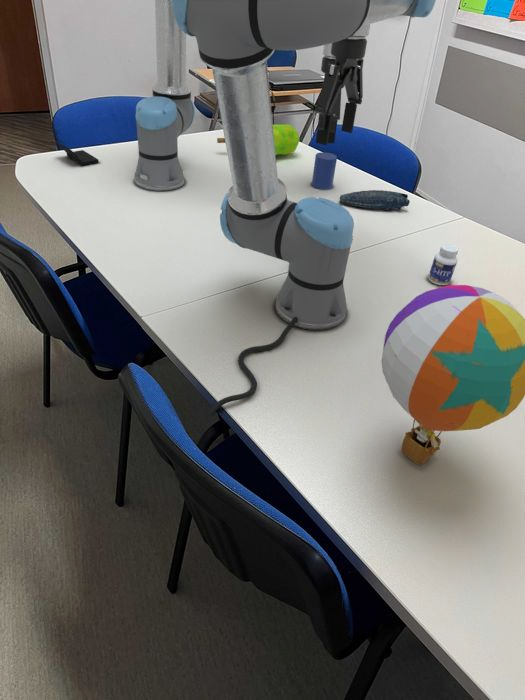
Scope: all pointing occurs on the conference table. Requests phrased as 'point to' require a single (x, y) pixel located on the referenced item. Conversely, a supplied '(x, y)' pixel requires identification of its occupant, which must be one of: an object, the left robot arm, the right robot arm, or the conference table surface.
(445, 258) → the pill bottle
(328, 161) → the can
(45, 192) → the conference table surface
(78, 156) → the black handled block
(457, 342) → the toy
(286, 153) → the decorative tree
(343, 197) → the fish model
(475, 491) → the conference table surface
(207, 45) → the right robot arm
